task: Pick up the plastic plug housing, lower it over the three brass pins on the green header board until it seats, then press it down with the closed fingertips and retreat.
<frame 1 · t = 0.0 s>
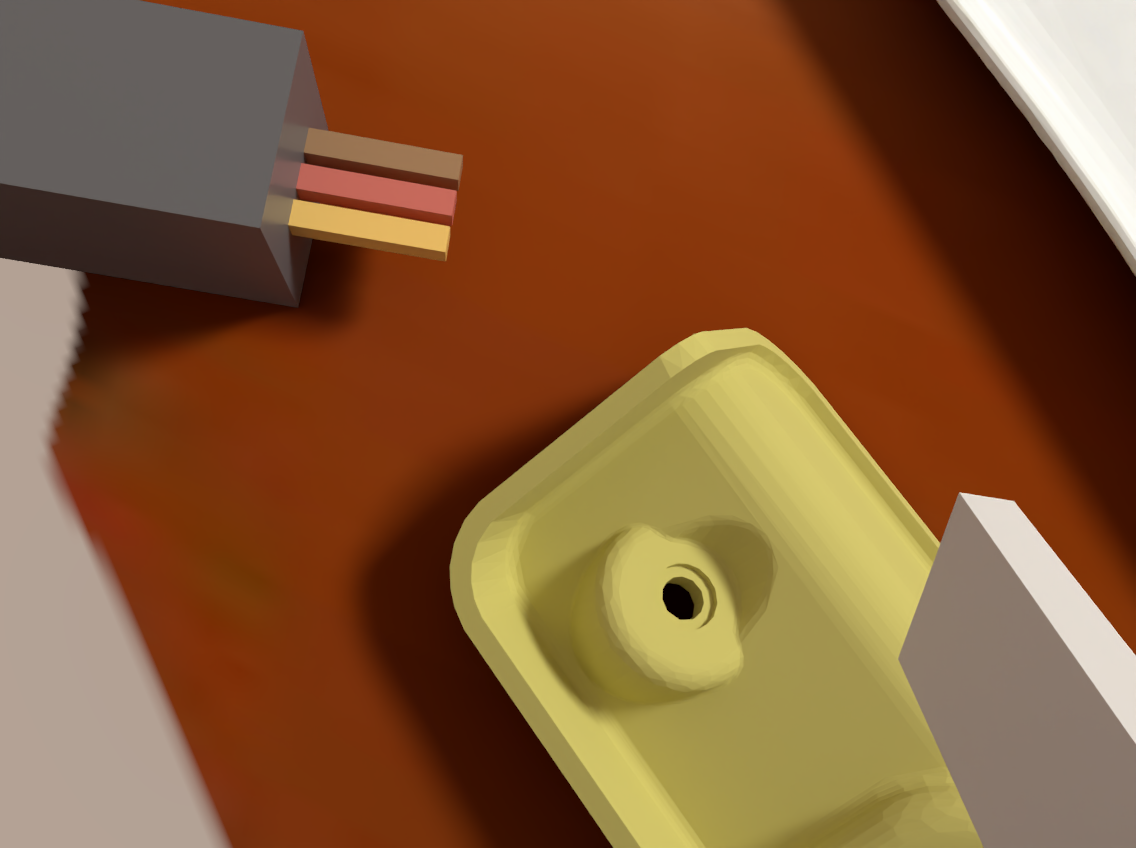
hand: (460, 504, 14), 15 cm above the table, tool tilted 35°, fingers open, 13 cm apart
plug housing: (138, 194, 30), on the table
plastic component: (781, 729, 30), on the table
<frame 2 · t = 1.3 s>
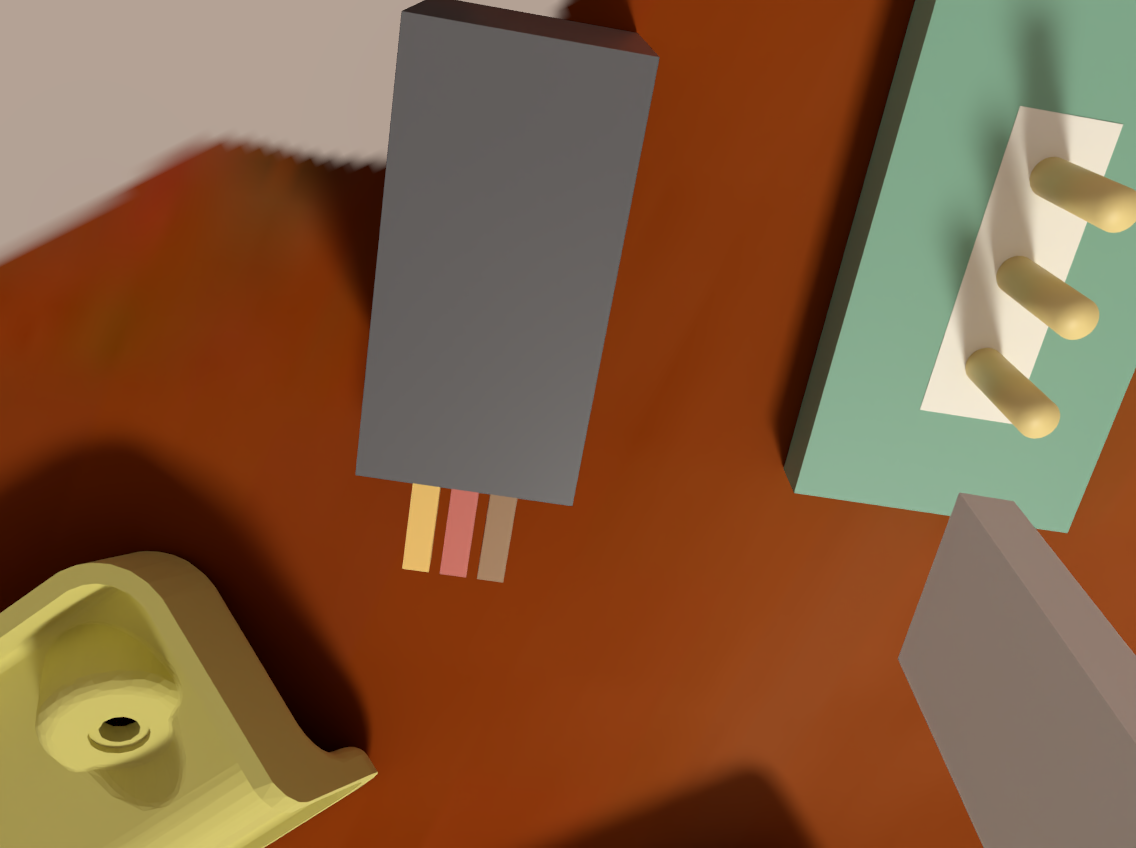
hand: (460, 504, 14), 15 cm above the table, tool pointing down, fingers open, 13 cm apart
plug housing: (506, 216, 28), on the table
plastic component: (59, 751, 36), on the table
header board: (993, 258, 29), on the table
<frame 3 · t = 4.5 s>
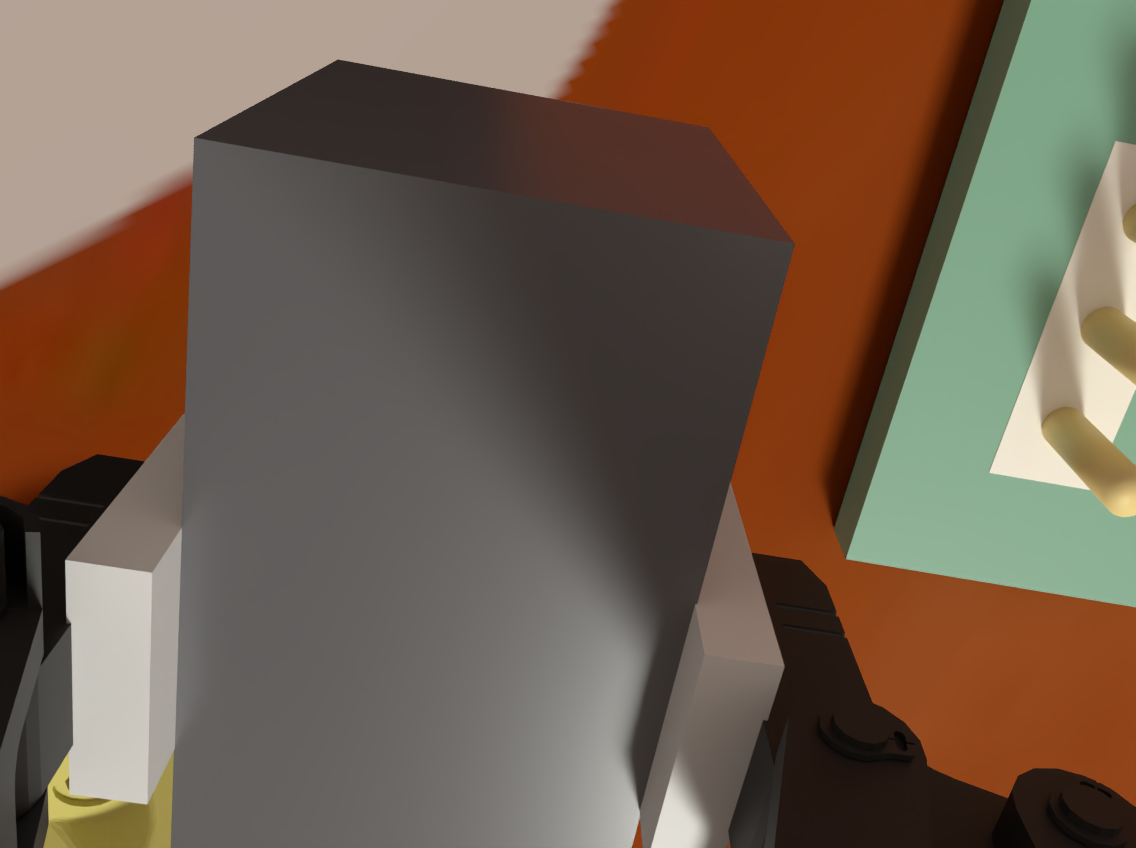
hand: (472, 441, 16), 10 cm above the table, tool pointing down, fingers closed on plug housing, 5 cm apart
plug housing: (473, 429, 16), point 10 cm above the table, touching gripper
plastic component: (20, 789, 33), on the table
header board: (1075, 306, 26), on the table
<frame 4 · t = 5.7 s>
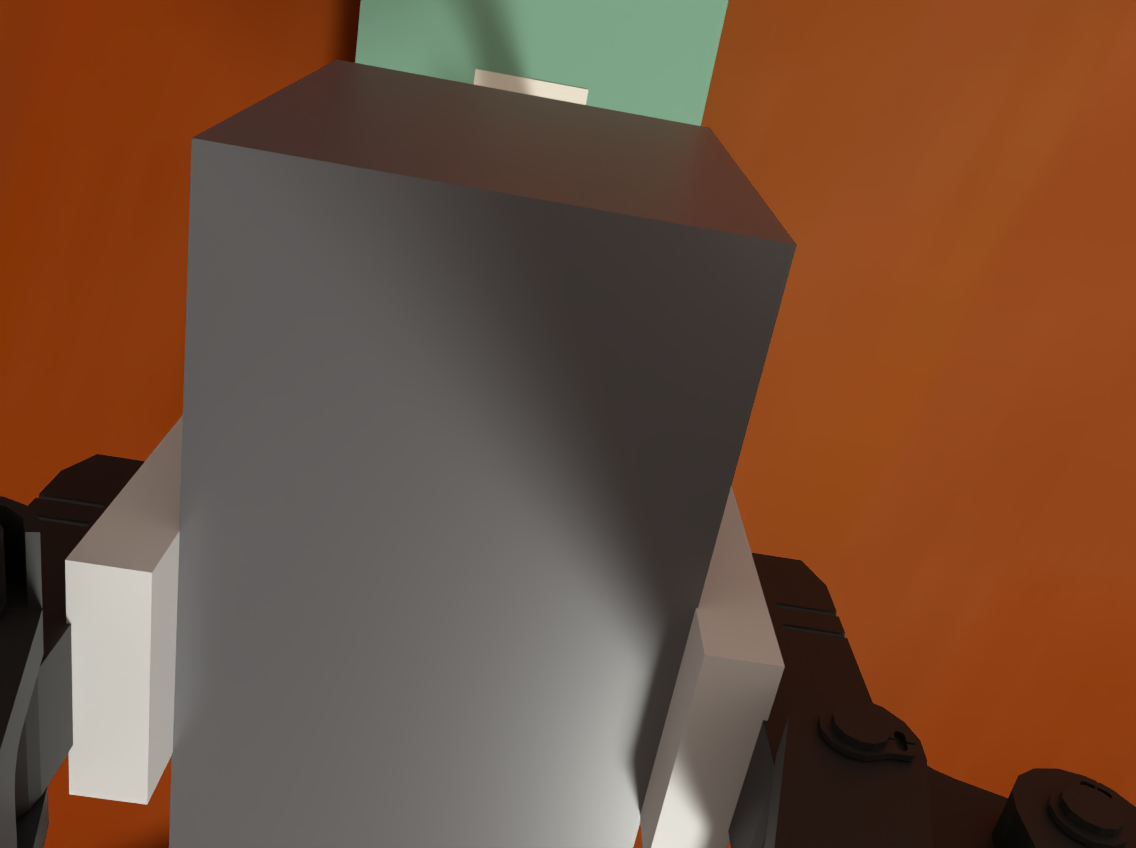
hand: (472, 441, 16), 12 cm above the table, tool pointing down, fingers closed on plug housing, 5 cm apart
plug housing: (473, 431, 16), point 12 cm above the table, touching gripper
header board: (508, 233, 27), on the table
when the fingers open (2 cm above the table, at t = 7.1 s): plug housing stays where it is, resting on header board.
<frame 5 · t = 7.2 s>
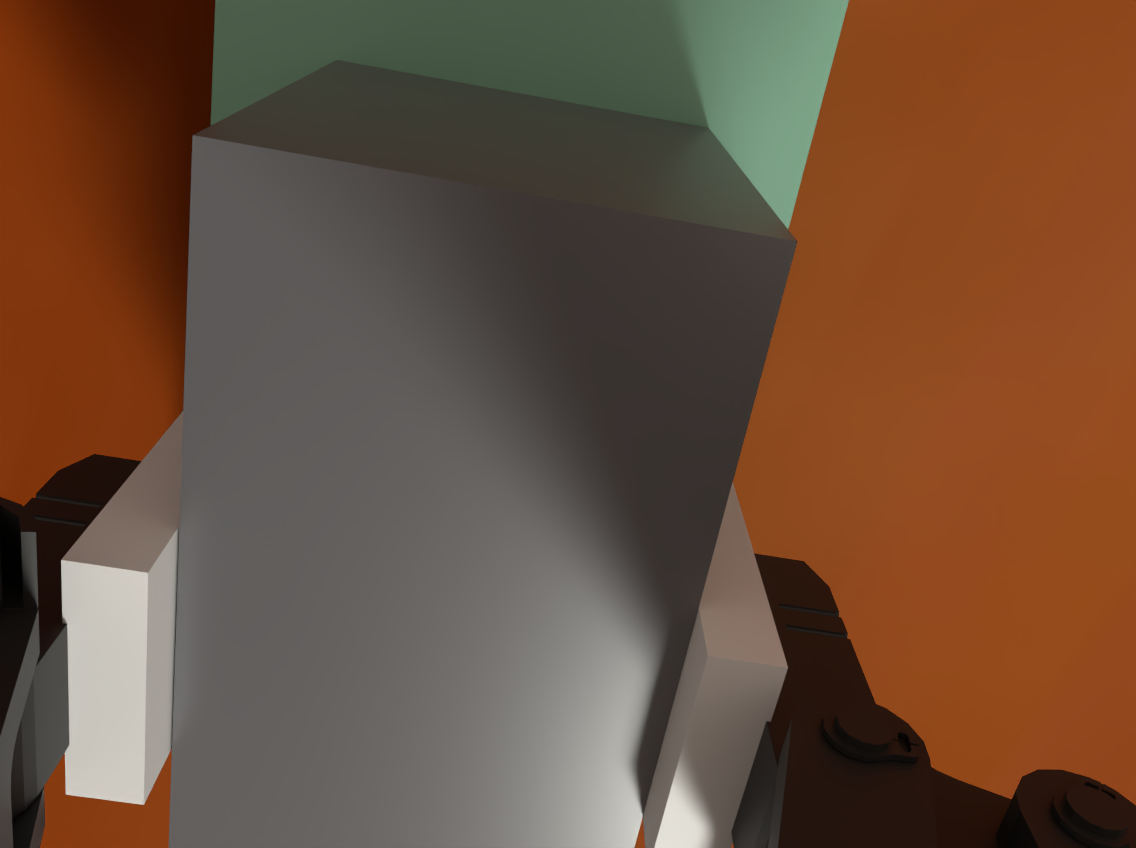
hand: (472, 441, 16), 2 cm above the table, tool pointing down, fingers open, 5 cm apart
plug housing: (473, 431, 16), point 2 cm above the table, touching header board
header board: (473, 395, 18), on the table
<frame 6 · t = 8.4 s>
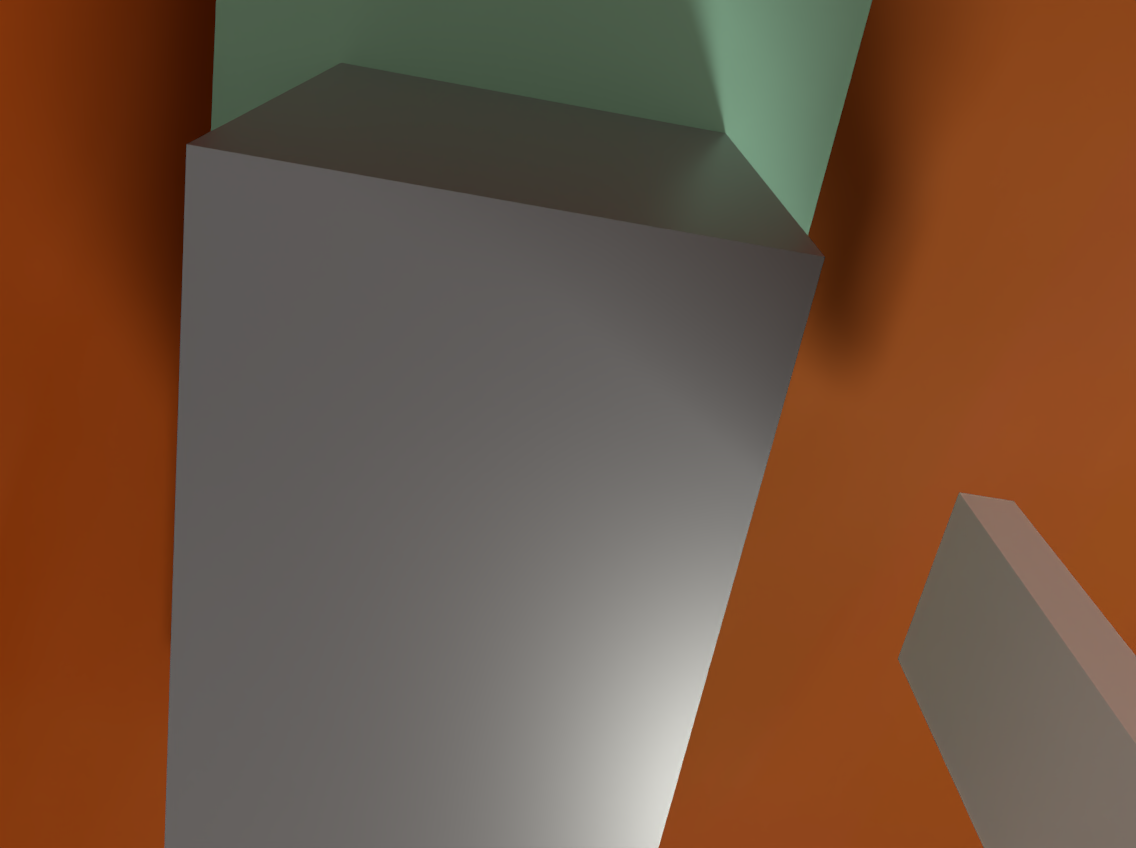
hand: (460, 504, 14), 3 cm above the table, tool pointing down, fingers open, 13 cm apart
plug housing: (480, 445, 16), point 2 cm above the table, touching header board
header board: (481, 407, 17), on the table
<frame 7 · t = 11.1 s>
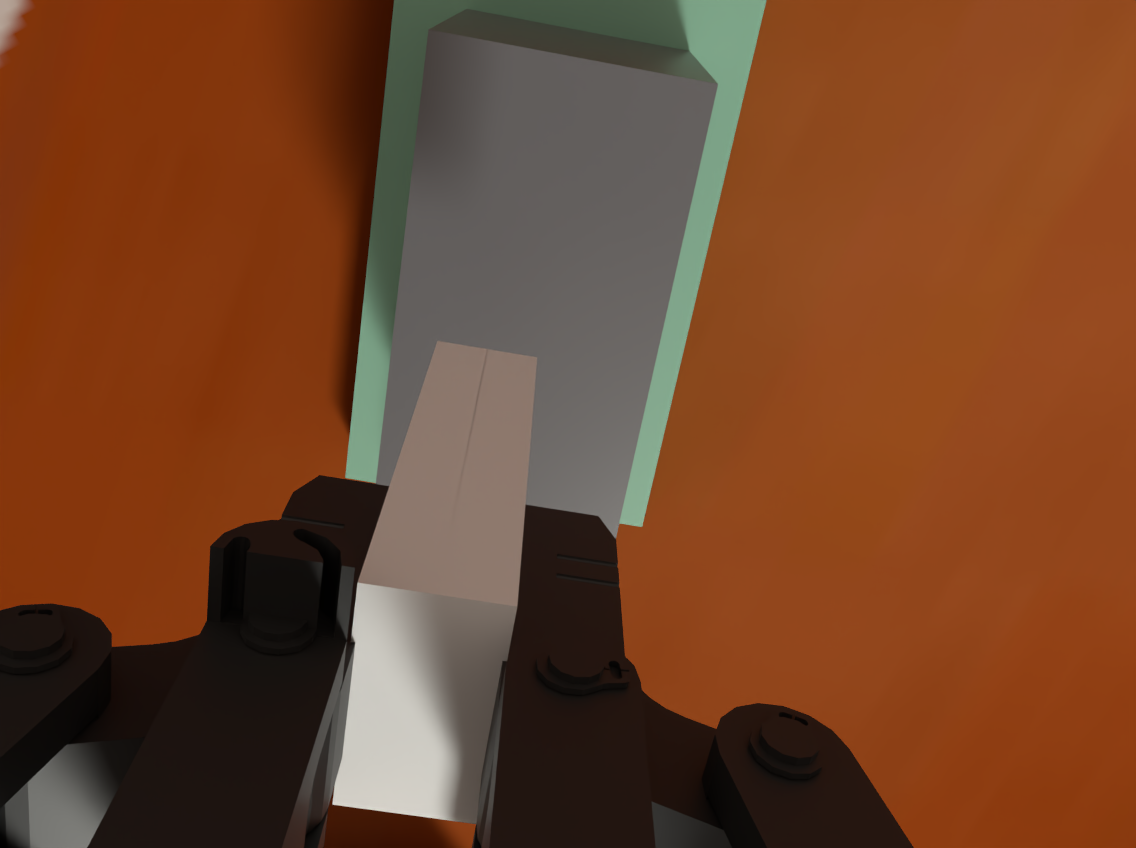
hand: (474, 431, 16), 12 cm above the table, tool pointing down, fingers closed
plug housing: (541, 248, 26), point 2 cm above the table, touching header board
header board: (540, 234, 27), on the table
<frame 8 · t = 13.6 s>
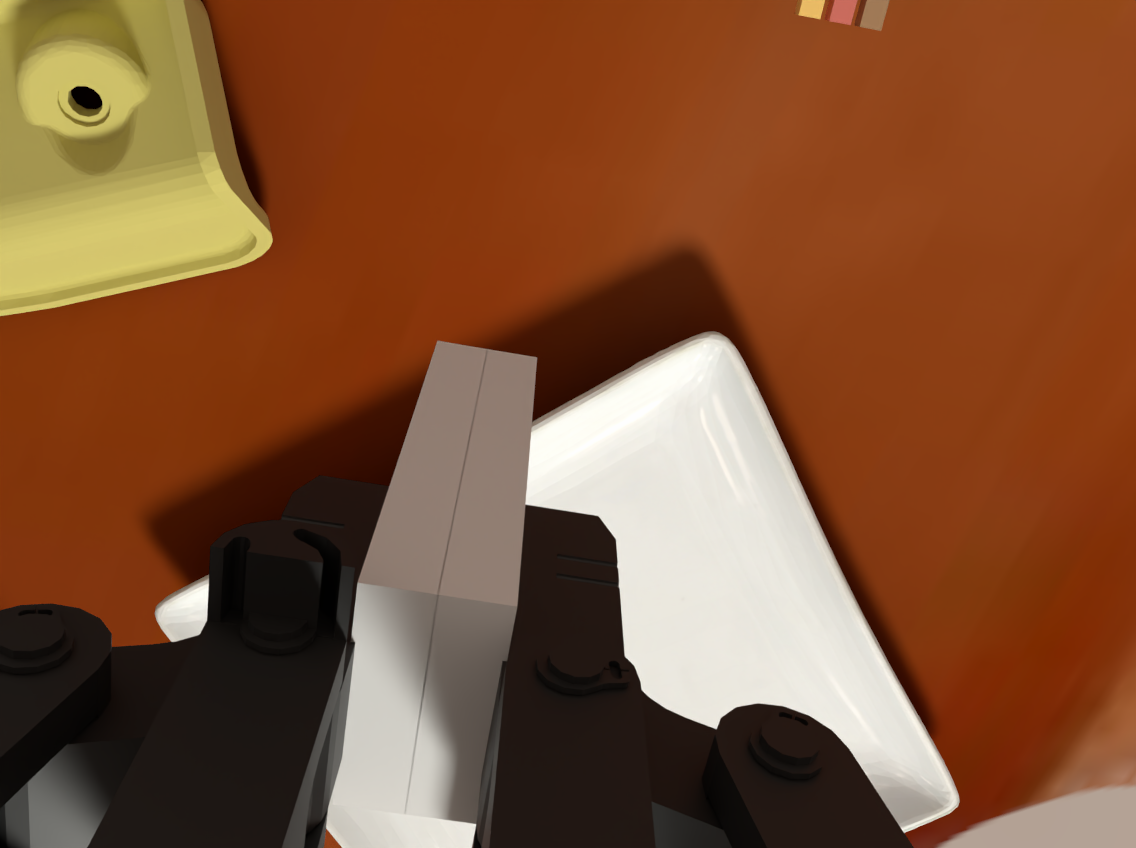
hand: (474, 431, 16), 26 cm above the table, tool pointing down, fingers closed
square plate: (575, 665, 51), on the table
plastic component: (4, 134, 41), on the table
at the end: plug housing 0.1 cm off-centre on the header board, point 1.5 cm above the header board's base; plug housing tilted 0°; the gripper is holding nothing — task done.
